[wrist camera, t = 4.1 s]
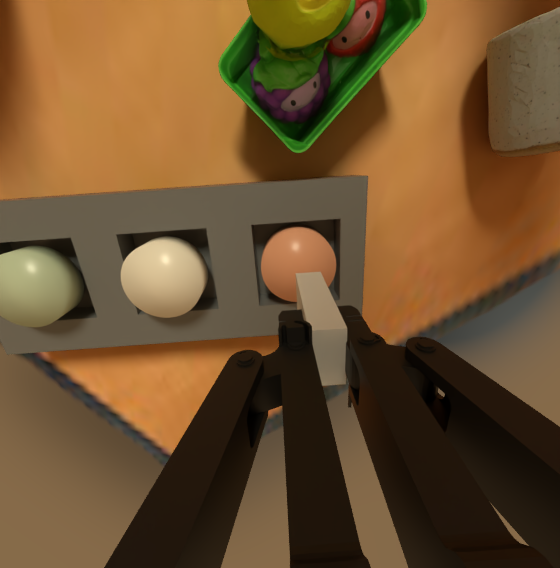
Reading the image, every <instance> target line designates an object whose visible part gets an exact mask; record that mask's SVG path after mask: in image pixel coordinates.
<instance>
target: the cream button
mask: <svg viewBox="0 0 560 568" xmlns="http://www.w3.org/2000/svg"><path fill="white" fill-rule="evenodd" d="M207 282H208V267H207V264H206V261H205V259H204V257H203V255H202V254H201V253H200V251H199V250H198V249H197V248H196V247H195V246H193V245H192V244H191V243H189V242H187V241H185V240H183V239H181V238H177V237H171V236H163V237H158V238H155V239H152V240H150V241H149V242H147V243H145V244H143V245H142V246H140V247H138V248H137V249H135V250H133V251H132V252H131V253H130V254H129V255H128V256H127V257H126V259H125V261H124V263H123V265H122V269H121V283H122V287H123V290H124V292H125V294H126V295H127V297H128V298H129V300H130V301H131V302H132V303H133V304H134V305H135V306H136V307H137V308H139V309H140V310H142V311H144V312H145V313H147V314H150V315H153V316H156V317H162V318H171V317H177V316H180V315H183V314H185V313H186V312H188V311H189V310H191V309H192V308H193V307H194V306H195V305H196V303H197V302H198V300H199V298H200V296H201V295H202V293H203V291H204V289H205V287H206V285H207Z"/></svg>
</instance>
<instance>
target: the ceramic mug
mask: <svg viewBox="0 0 560 568" xmlns="http://www.w3.org/2000/svg"><path fill="white" fill-rule="evenodd" d="M487 79H488V110H489V118H488V130H489V139H490V143H491V147H492V150H493V152H494V153H496V154H498V155H499V156H502V157H518V156H528V155H537V154H542V153H548V152H554V151H559V150H560V7H558V8H556V9H554V10H552V11H550V12H547V13H544V14H542V15H539V16H537V17H535V18H533V19H530V20H528V21H526V22H524V23H522V24H520V25H518V26H516V27H514V28H512V29H510V30H508V31H506V32H504V33H502V34H500V35H498V36H496V37H495V38H493V39H492V40H491V41H490V42H489V43H488V44H487Z"/></svg>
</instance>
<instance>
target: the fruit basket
mask: <svg viewBox="0 0 560 568" xmlns="http://www.w3.org/2000/svg"><path fill="white" fill-rule="evenodd" d="M247 2H248V7H249V10H250V13H251V15H250V16H249V18H248V19H247V21H246V22H245V24H244V25H243V26H242V28H241V29H240V31H239V32H238V33H237V35H236V36H235V37H234V39H233V40H232V42H231V43H230V44H229V46H228V47H227V48H226V50H225V51H224V53H223V54H222V56H221V57H220V60H219V65H218V67H219V72H220V75H221V77H222V79H223V80H224V82H225V83H226V84H227V85H228V86H229V87H230V88H231V89H232V90H233V91H234V92H235V93H236V94H237V95H238V96H239V97H240V98H241V99H242V100H243V101H244V102H245V103H246V104H247V105H248V106H249V107H250V108H251V109H252V110H253V111H254V112H255V113H256V115H257V116H258V117H259V118H260V119H261V120H262V121H263V122H264V123H265V124H266V125H267V126H268V127H269V128H270V129H271V130H272V131H273V132H274V133H275V135H276V136H277V137H278V138H279V139H280V140H281V141H282V142H283V143H284V144H285V145H286V146H287V147H288V148H289V149H290V150H291V151H292V152H295V153H302V152H304V151H306V150H307V149H309V147H310V146H311V145H312V144H313V143H314V142H315V140H316V139H317V138H318V137H319V136H320V135H321V134H322V132H323V131H324V130H325V129H326V128H327V127H328V126H329V125H330V123H331V122H332V121H333V120H334V119H335V118H336V116H337V115H338V114H339V113H340V112H341V111H342V110H343V109H344V108H345V107H346V105H347V104H348V103H349V102H350V101H351V100H352V99H353V98H354V97H355V95H356V94H357V93H358V92H359V91H360V90H361V89H362V88H363V87H364V86H365V85H366V83H367V82H368V81H369V80H370V79H371V78H372V77H373V76H374V74H375V73H376V72H377V71H378V70H379V69H380V68H381V67H382V65H383V64H384V63H385V62H386V61H387V60H388V59H389V58H390V56H391V55H392V54H393V53H394V52H395V51H396V50H397V49H398V48H399V47H400V45H401V44H402V43H403V42H404V41H405V40H406V39H407V38H408V37H409V36H410V34H411V33H412V32H413V31H414V30H415V29H416V28H417V27H418V26H419V25H420V23H421V22H422V21H423V19H424V17H425V14H426V10H427V2H426V0H247Z"/></svg>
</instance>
